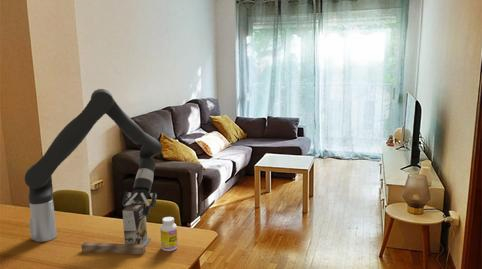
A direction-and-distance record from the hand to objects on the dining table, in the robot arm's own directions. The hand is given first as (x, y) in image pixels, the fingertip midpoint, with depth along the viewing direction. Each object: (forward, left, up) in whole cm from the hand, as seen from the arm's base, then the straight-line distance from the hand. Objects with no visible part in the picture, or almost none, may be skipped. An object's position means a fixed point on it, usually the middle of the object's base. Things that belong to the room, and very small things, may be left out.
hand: (136, 215), depth 167 cm
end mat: (0, -2, -12) cm, 12 cm away
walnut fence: (-7, -9, -12) cm, 17 cm away
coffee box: (0, -1, -12) cm, 12 cm away
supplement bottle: (+15, -4, -13) cm, 20 cm away
